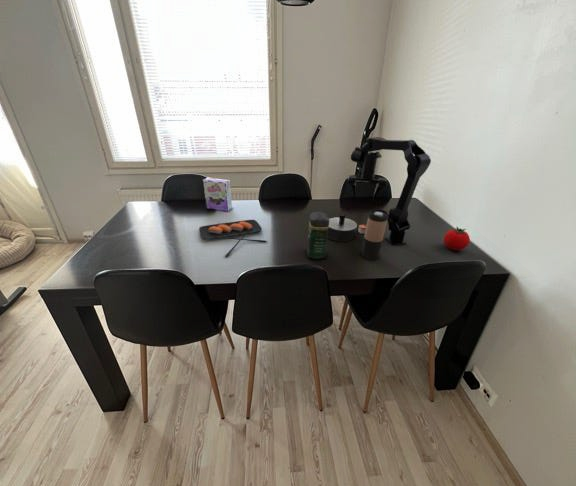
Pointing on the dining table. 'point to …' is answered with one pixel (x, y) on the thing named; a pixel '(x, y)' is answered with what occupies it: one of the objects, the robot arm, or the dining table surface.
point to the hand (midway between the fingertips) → (364, 198)
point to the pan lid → (342, 223)
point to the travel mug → (374, 233)
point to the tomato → (456, 239)
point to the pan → (341, 235)
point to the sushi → (362, 229)
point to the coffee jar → (317, 235)
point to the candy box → (217, 194)
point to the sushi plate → (230, 230)
